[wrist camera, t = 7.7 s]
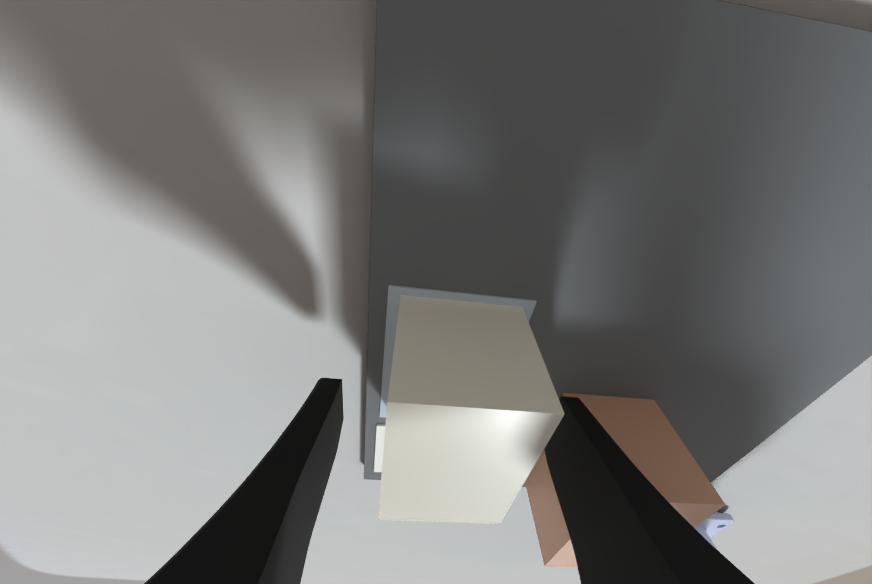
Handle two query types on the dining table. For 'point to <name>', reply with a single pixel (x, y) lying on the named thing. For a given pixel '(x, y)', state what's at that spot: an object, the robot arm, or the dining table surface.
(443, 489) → the cream brick
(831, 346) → the mat
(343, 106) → the dining table surface
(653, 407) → the terracotta brick
